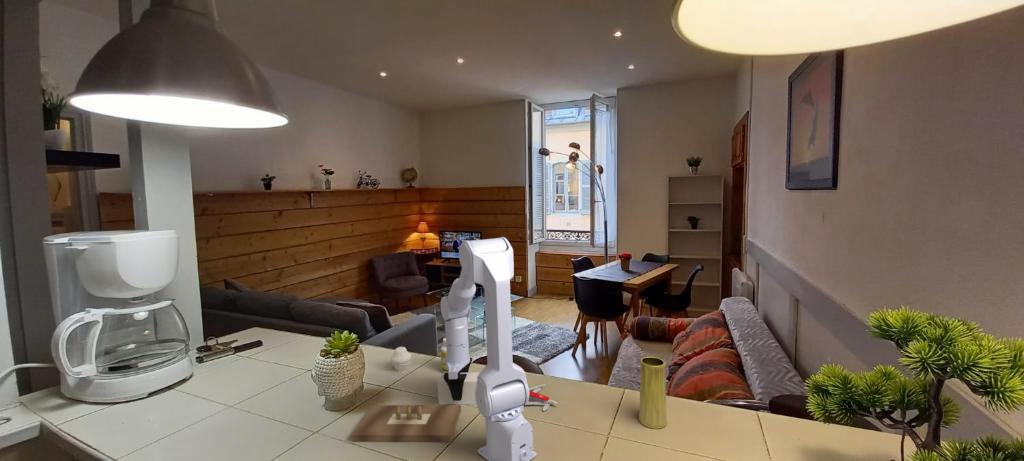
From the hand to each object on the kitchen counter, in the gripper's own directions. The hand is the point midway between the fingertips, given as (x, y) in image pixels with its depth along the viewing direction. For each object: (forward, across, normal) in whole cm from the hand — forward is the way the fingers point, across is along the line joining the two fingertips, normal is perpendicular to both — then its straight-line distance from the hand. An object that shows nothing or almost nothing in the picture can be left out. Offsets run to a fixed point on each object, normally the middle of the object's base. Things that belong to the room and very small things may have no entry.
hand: (459, 392), depth 102 cm
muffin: (+2, -18, -22) cm, 28 cm away
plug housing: (+2, 0, 0) cm, 2 cm away
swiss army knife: (+2, +1, +20) cm, 20 cm away
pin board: (+2, +12, -10) cm, 15 cm away
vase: (+2, +10, +46) cm, 47 cm away
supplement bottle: (+2, -17, -6) cm, 18 cm away
